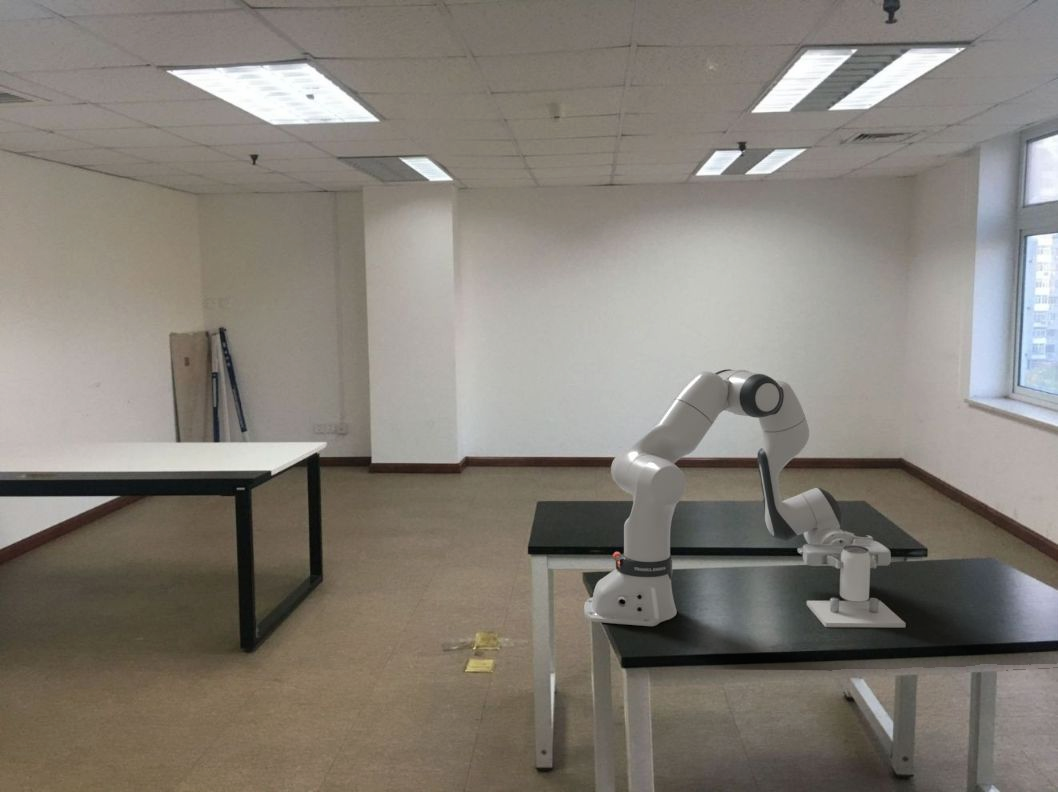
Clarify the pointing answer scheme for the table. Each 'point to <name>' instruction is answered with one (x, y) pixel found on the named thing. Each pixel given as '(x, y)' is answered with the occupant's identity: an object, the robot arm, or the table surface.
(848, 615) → the pin plate
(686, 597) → the table surface
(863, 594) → the can
